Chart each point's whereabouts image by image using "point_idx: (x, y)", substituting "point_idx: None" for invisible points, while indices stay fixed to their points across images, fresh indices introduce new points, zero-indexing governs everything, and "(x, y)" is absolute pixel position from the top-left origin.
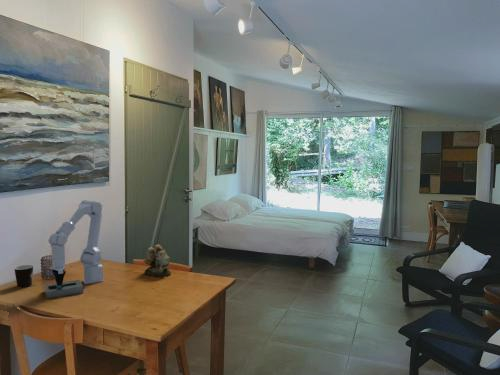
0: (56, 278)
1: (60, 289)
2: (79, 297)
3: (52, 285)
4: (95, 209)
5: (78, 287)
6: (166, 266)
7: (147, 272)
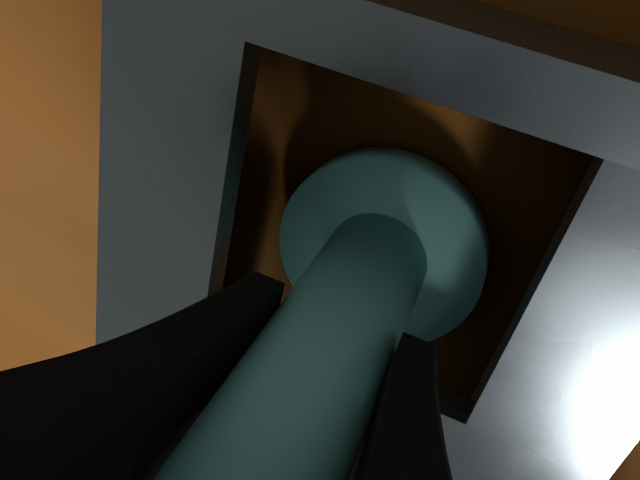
0: (68, 362)
1: (124, 220)
2: (24, 294)
3: (551, 266)
4: None
5: None
6: None
7: None
